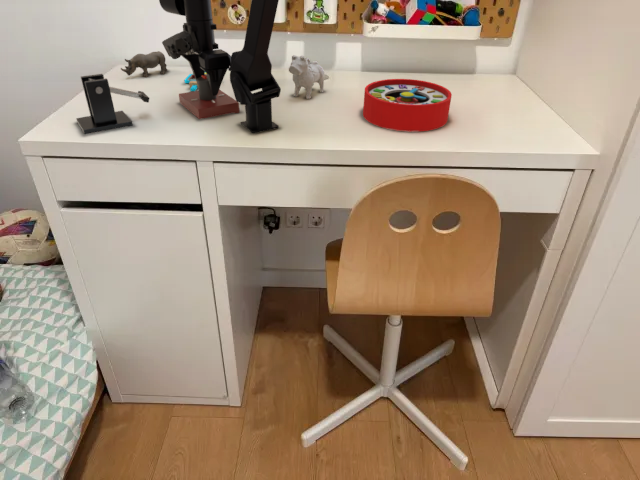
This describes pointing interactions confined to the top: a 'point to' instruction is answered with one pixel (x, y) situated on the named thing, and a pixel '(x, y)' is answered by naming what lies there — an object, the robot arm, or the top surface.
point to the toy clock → (406, 105)
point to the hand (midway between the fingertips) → (207, 89)
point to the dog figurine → (306, 74)
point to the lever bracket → (100, 107)
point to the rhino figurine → (146, 63)
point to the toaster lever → (128, 93)
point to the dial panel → (209, 104)
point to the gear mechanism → (192, 81)
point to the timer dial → (204, 88)
